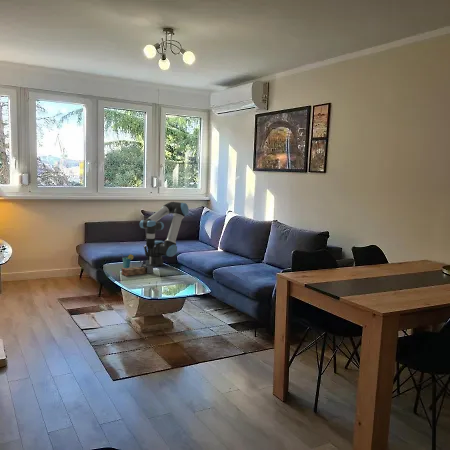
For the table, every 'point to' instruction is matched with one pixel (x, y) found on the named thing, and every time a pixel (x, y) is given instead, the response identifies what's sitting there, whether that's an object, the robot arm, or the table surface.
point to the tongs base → (132, 268)
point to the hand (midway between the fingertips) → (149, 264)
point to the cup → (126, 260)
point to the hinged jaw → (133, 271)
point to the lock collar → (148, 267)
